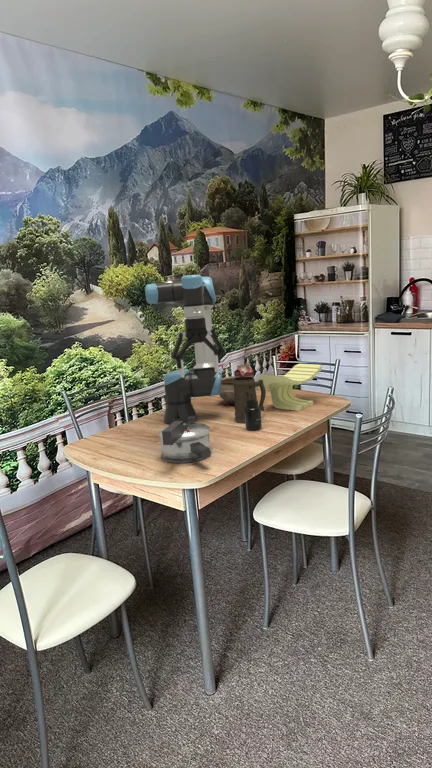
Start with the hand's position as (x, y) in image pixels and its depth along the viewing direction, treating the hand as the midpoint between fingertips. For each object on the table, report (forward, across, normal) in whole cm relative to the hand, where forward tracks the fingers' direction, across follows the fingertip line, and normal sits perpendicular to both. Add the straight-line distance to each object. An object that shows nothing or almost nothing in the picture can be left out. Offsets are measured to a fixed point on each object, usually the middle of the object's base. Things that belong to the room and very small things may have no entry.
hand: (199, 374), depth 202 cm
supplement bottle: (+29, +26, +12) cm, 40 cm away
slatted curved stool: (+29, +57, +38) cm, 74 cm away
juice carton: (+29, +36, +45) cm, 65 cm away
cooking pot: (+29, +38, +61) cm, 78 cm away
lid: (+20, -11, -7) cm, 24 cm away
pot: (+29, -9, -7) cm, 31 cm away
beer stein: (+29, +31, +27) cm, 50 cm away
